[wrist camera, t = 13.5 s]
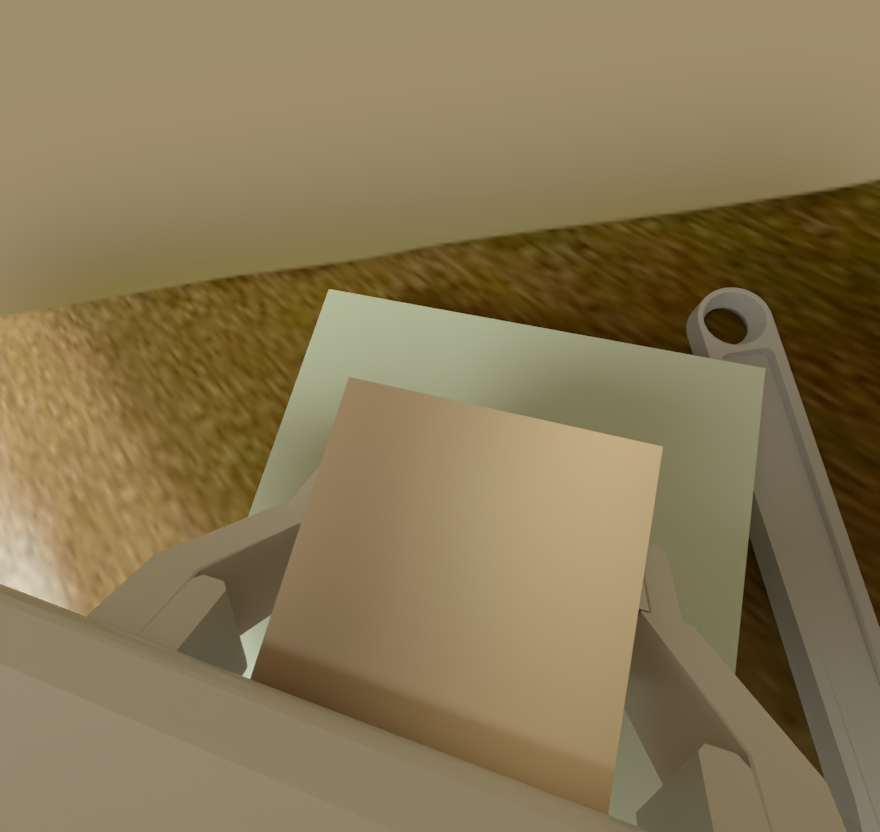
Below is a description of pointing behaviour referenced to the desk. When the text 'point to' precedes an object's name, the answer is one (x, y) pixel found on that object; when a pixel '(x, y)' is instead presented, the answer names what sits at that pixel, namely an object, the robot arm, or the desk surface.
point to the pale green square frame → (565, 402)
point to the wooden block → (470, 585)
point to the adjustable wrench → (808, 568)
